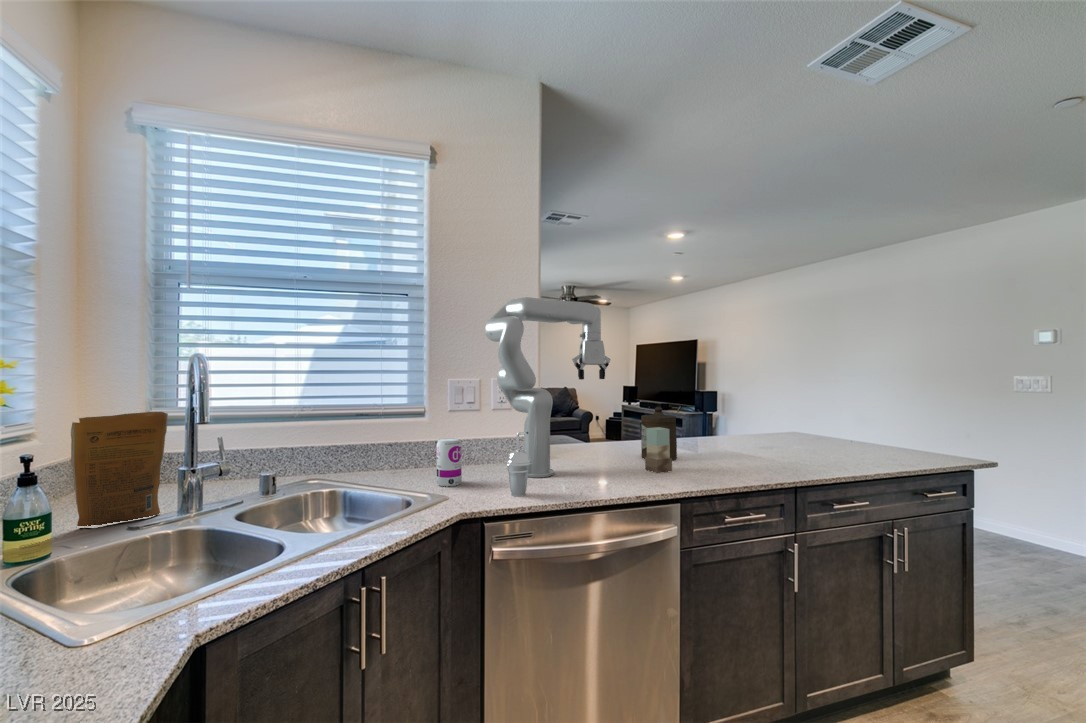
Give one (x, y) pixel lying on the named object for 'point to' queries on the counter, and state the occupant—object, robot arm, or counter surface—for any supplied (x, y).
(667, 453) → the oak upper block
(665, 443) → the sage cube
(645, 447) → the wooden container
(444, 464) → the supplement can
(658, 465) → the walnut base block
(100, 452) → the pancake mix bag
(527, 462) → the cup with straw
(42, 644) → the counter surface
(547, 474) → the robot arm
